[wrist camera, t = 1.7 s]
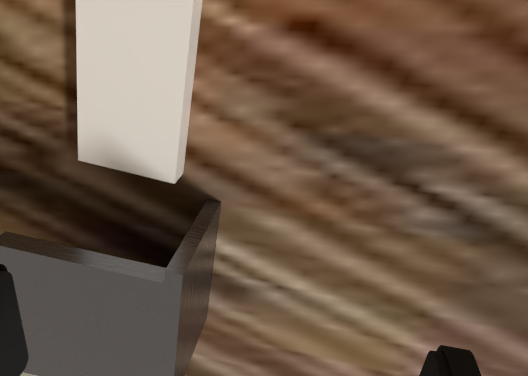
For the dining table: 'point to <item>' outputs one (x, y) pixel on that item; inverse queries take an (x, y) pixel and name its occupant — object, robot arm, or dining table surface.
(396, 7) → the dining table surface
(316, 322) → the dining table surface
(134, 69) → the white rectangular block
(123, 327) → the grey storage bin
